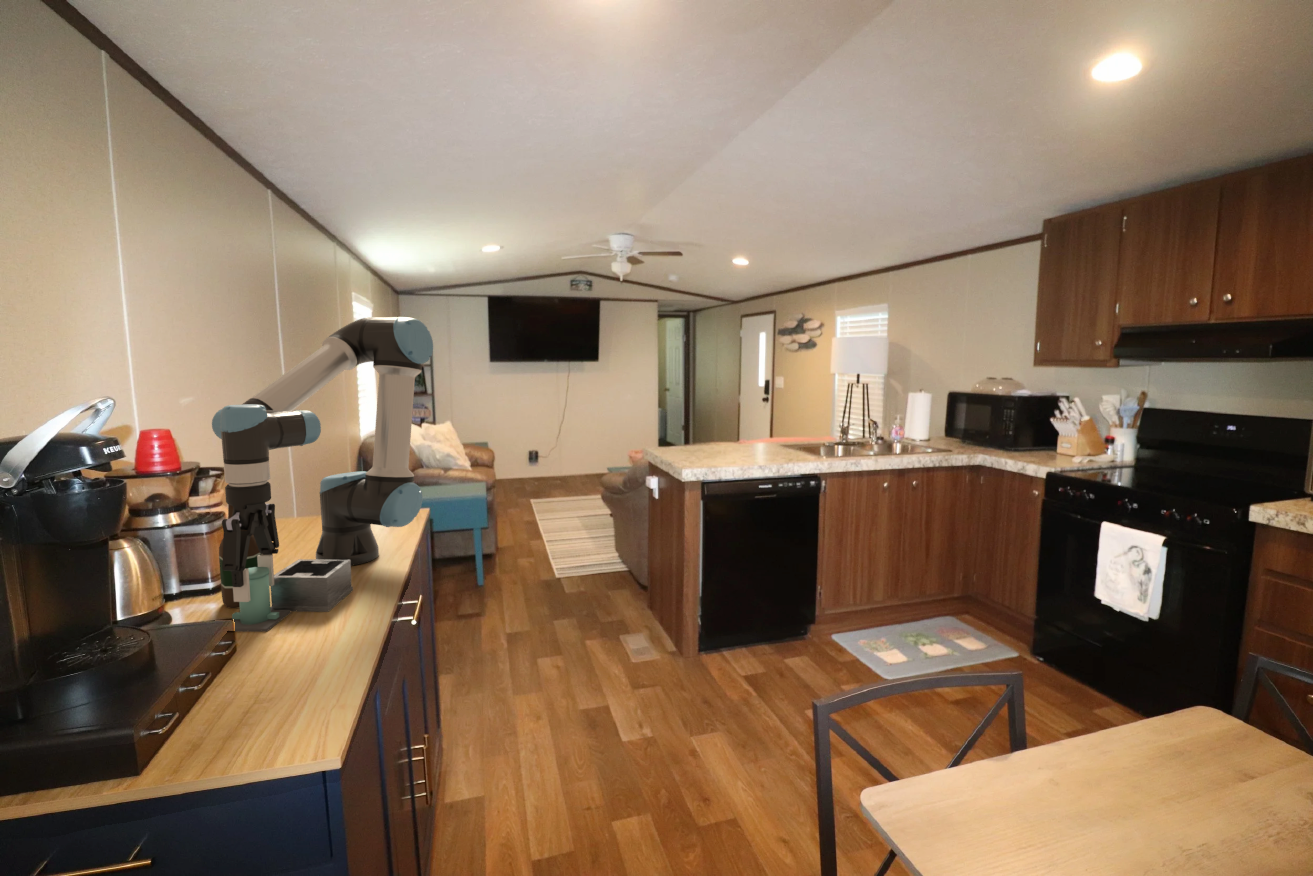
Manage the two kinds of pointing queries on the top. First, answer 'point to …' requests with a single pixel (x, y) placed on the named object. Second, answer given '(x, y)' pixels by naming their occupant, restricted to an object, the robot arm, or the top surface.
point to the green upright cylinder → (257, 599)
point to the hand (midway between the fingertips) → (254, 592)
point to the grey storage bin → (311, 585)
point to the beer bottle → (227, 575)
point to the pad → (263, 625)
